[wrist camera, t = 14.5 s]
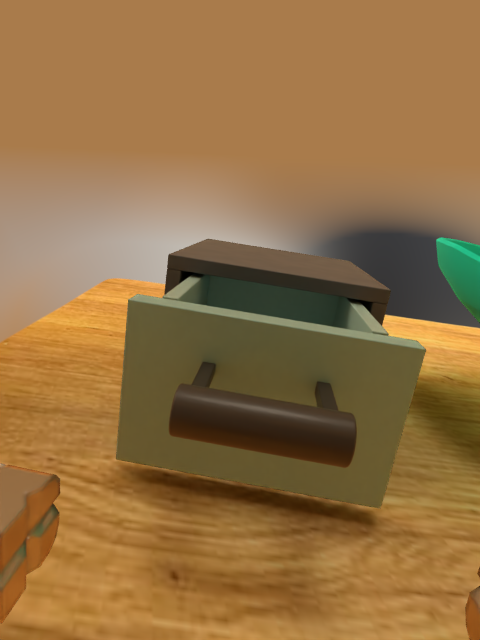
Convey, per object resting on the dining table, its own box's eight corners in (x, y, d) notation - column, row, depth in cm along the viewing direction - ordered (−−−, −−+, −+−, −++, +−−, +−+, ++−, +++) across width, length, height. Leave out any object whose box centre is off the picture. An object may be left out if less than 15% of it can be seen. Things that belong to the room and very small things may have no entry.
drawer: (415, 608, 14) (485, 403, 12) (63, 539, 15) (72, 331, 13) (338, 387, 32) (361, 288, 30) (180, 359, 33) (192, 261, 31)
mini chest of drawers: (355, 432, 27) (391, 290, 25) (153, 396, 28) (168, 254, 25) (328, 356, 42) (349, 261, 39) (195, 334, 42) (207, 238, 40)
